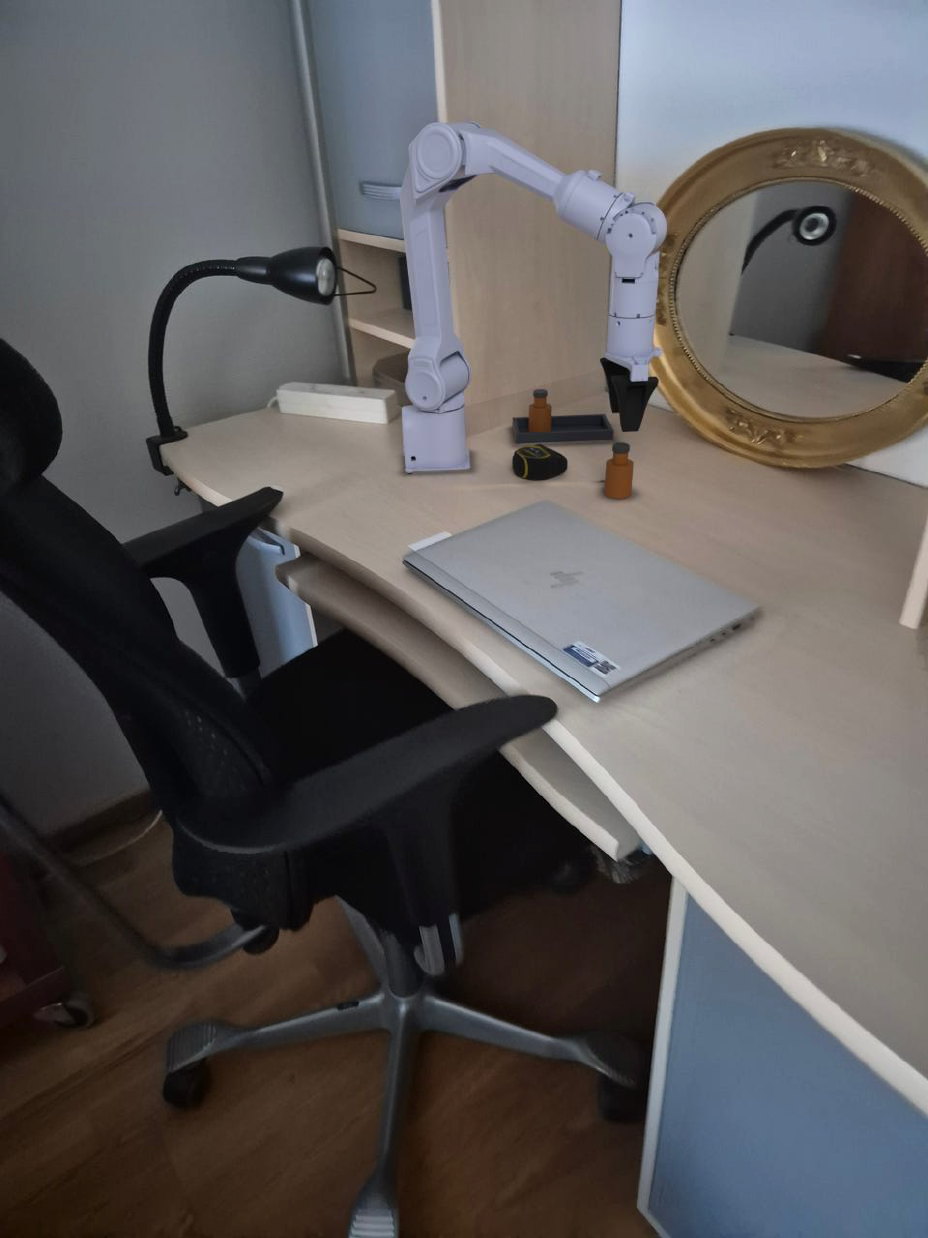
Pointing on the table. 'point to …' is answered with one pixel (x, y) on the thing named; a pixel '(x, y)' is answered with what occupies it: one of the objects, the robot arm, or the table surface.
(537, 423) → the row bottle
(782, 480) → the table surface
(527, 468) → the tape measure
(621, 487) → the amber bottle
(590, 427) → the tray
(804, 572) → the table surface
